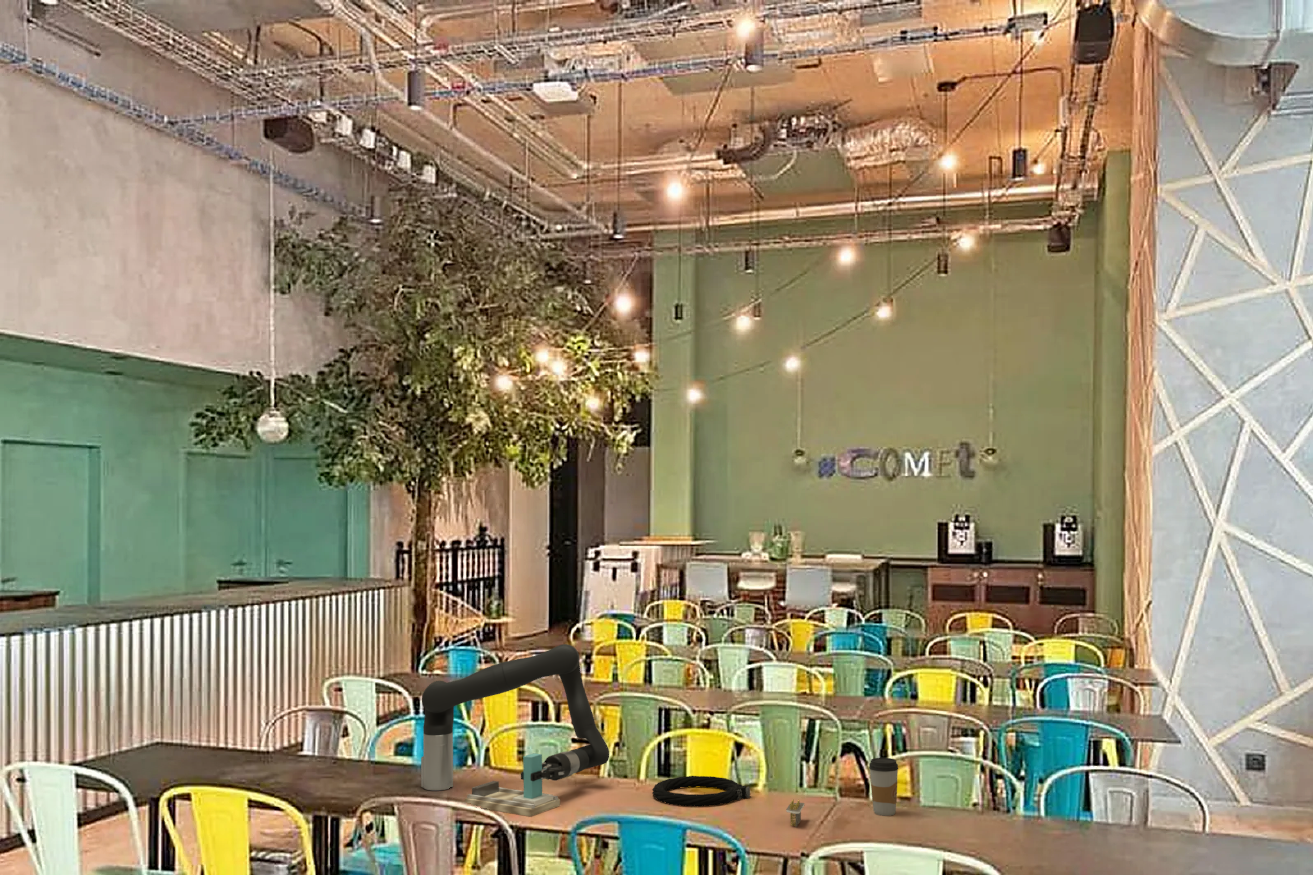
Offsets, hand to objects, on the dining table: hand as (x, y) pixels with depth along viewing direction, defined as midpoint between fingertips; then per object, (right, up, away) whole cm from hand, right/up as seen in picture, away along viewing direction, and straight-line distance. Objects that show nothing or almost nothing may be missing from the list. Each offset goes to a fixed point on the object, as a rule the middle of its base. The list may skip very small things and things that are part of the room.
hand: (526, 776), depth 362 cm
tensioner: (+2, -8, +2) cm, 8 cm away
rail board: (-5, -10, +6) cm, 13 cm away
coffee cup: (+104, -9, -7) cm, 104 cm away
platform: (+77, -9, -17) cm, 79 cm away
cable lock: (+52, -11, +15) cm, 55 cm away
